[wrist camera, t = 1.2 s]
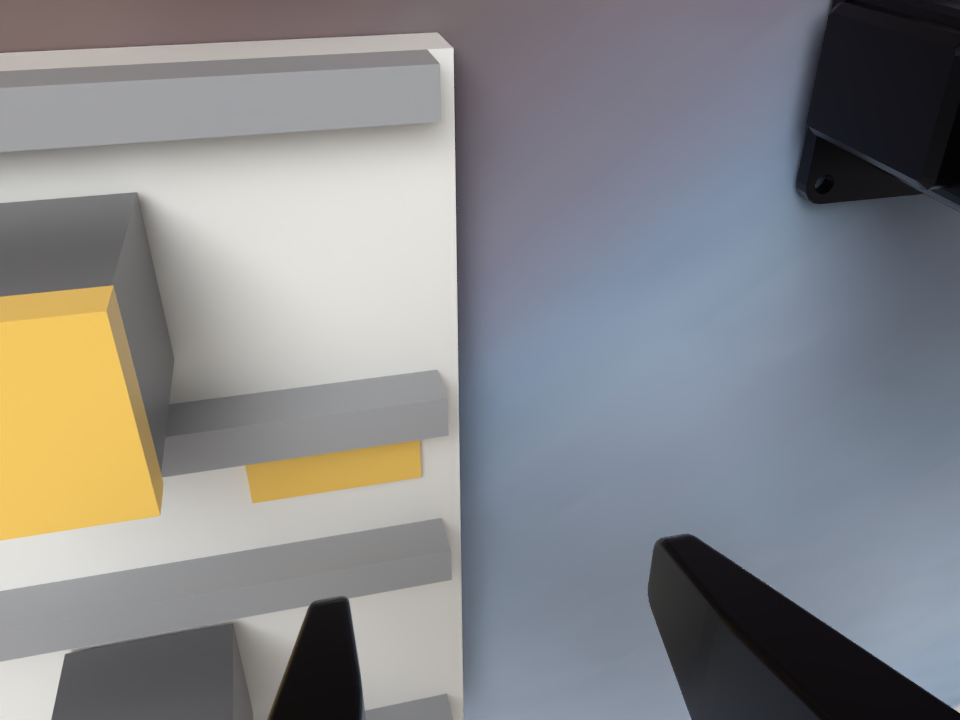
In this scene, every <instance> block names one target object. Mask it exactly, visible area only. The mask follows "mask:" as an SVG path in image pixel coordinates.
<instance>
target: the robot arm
mask: <svg viewBox="0 0 960 720" xmlns="http://www.w3.org/2000/svg"><path fill="white" fill-rule="evenodd" d="M807 124H808V129H807V134H806V139H805V144H804V149H803V153H802V158H801V163H800V168H799V173H798V178H797V189H798V192H799V194H801V195H802V196H803V197H805V198H806V199H808V200H809V201H811V202H813V203H816V204H825V203H835V202H845V201H856V200H866V199H876V198H886V197H896V196H906V195H917V194H926V195H928V196H930V197H932V198H934V199H936V200H938V201H940V202H942V203H943V204H945V205H947V206H949V207H951V208H953V209H955V210H957V211H959V212H960V0H834V3H833V8H832V11H831V13H830V14H829V17H828V22H827V27H826V32H825V37H824V42H823V46H822V51H821V56H820V61H819V66H818V71H817V76H816V81H815V85H814V90H813V95H812V100H811V105H810V110H809V115H808V120H807ZM822 175H825V178H824V181H823V183H822V184H821V185H820V186H819V187H817V188H815V184H816V182H817V180H818V179H819V178H820V177H821V176H822ZM648 598H649V603H650V607H651V610H652V613H653V615H654V618H655V621H656V624H657V626H658V629H659V632H660V635H661V637H662V640H663V643H664V646H665V648H666V651H667V654H668V657H669V659H670V662H671V665H672V668H673V670H674V673H675V676H676V679H677V681H678V684H679V687H680V690H681V692H682V695H683V698H684V701H685V703H686V706H687V709H688V711H689V714H690V716H691V719H692V720H960V713H959V712H957V711H956V710H954V709H953V708H951V707H950V706H948V705H947V704H945V703H944V702H942V701H941V700H939V699H938V698H936V697H935V696H933V695H932V694H930V693H929V692H927V691H926V690H924V689H923V688H921V687H920V686H918V685H917V684H915V683H914V682H912V681H911V680H909V679H908V678H906V677H905V676H903V675H902V674H900V673H899V672H897V671H896V670H894V669H893V668H891V667H890V666H888V665H887V664H885V663H884V662H882V661H881V660H879V659H878V658H876V657H875V656H873V655H872V654H870V653H869V652H867V651H866V650H864V649H863V648H861V647H860V646H858V645H857V644H855V643H854V642H852V641H851V640H849V639H848V638H846V637H845V636H843V635H842V634H840V633H839V632H837V631H836V630H834V629H833V628H831V627H830V626H829V625H827V624H826V623H824V622H823V621H821V620H820V619H818V618H817V617H815V616H814V615H812V614H811V613H809V612H808V611H806V610H805V609H803V608H802V607H800V606H799V605H797V604H796V603H794V602H793V601H791V600H790V599H788V598H787V597H785V596H784V595H782V594H781V593H779V592H778V591H776V590H775V589H773V588H772V587H770V586H769V585H767V584H766V583H764V582H763V581H761V580H760V579H758V578H757V577H755V576H754V575H752V574H751V573H749V572H748V571H746V570H745V569H743V568H742V567H740V566H739V565H737V564H736V563H734V562H733V561H731V560H730V559H728V558H727V557H725V556H724V555H722V554H721V553H719V552H718V551H716V550H715V549H713V548H712V547H710V546H709V545H707V544H706V543H704V542H703V541H701V540H700V539H698V538H697V537H695V536H693V535H690V534H681V535H675V536H670V537H664V538H660V539H658V540H657V541H656V543H655V545H654V549H653V555H652V562H651V569H650V576H649V582H648ZM267 720H366V716H365V708H364V699H363V690H362V681H361V673H360V666H359V660H358V654H357V647H356V641H355V634H354V628H353V621H352V615H351V608H350V602H349V599H348V598H347V597H345V596H337V597H332V598H326V599H321V600H316V601H313V602H312V603H311V604H310V606H309V607H308V609H307V612H306V615H305V617H304V620H303V623H302V625H301V628H300V631H299V634H298V636H297V639H296V642H295V645H294V647H293V650H292V653H291V655H290V658H289V661H288V664H287V666H286V669H285V672H284V675H283V677H282V680H281V683H280V685H279V688H278V691H277V694H276V696H275V699H274V702H273V705H272V707H271V710H270V713H269V715H268V718H267Z"/></svg>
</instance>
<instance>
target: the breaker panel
mask: <svg viewBox="0 0 960 720" xmlns="http://www.w3.org/2000/svg"><path fill="white" fill-rule="evenodd" d="M133 192H137V193H138V198H139V202H140V207H141V211H142V216H143V220H144V225H145V229H146V234H147V238H148V243H149V247H150V252H151V256H152V261H153V265H154V270H155V274H156V279H157V283H158V288H159V292H160V297H161V301H162V306H163V310H164V315H165V319H166V324H167V328H168V333H169V337H170V342H171V346H172V351H173V355H174V368H173V376H172V385H171V393H170V402H169V410H168V419H167V428H166V436H165V445H164V453H163V462H162V470H161V475H162V479H163V483H164V487H163V496H162V505H161V514H160V516H157V517H150V518H144V519H137V520H131V521H124V522H118V523H112V524H105V525H99V526H92V527H86V528H79V529H73V530H66V531H60V532H53V533H47V534H40V535H34V536H27V537H21V538H15V539H8V540H2V541H0V720H51V719H52V714H53V709H54V704H55V699H56V695H57V690H58V685H59V680H60V675H61V671H62V666H63V661H64V656H65V654H67V653H73V652H78V651H84V650H89V649H95V648H100V647H105V646H111V645H116V644H122V643H127V642H133V641H138V640H144V639H149V638H155V637H160V636H166V635H171V634H177V633H182V632H188V631H193V630H199V629H204V628H210V627H215V626H221V625H226V624H232V623H233V625H234V629H235V634H236V638H237V643H238V647H239V652H240V656H241V661H242V665H243V670H244V674H245V679H246V683H247V687H248V692H249V696H250V701H251V705H252V710H253V720H267V718H268V715H269V713H270V710H271V707H272V705H273V702H274V699H275V696H276V694H277V691H278V688H279V685H280V683H281V680H282V677H283V675H284V672H285V669H286V666H287V664H288V661H289V658H290V655H291V653H292V650H293V647H294V645H295V642H296V639H297V636H298V634H299V631H300V628H301V625H302V623H303V620H304V617H305V615H306V612H307V609H308V607H309V606H310V604H311V603H312V602H313V601H316V600H321V599H326V598H332V597H337V596H345V597H347V598H348V599H349V602H350V608H351V615H352V621H353V628H354V634H355V641H356V647H357V654H358V660H359V666H360V673H361V681H362V690H363V699H364V708H365V716H366V720H463V652H462V585H461V518H460V451H459V384H458V317H457V250H456V183H455V116H454V49H453V47H452V46H451V45H450V44H449V43H448V42H447V41H446V40H445V39H444V38H443V37H442V36H441V35H440V34H439V33H417V34H396V35H375V36H353V37H332V38H311V39H290V40H268V41H247V42H226V43H205V44H183V45H162V46H141V47H119V48H98V49H77V50H56V51H34V52H13V53H0V203H9V202H21V201H34V200H46V199H58V198H71V197H83V196H96V195H108V194H121V193H133Z"/></svg>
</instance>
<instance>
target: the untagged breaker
mask: <svg viewBox="0 0 960 720" xmlns="http://www.w3.org/2000/svg"><path fill="white" fill-rule="evenodd" d="M51 720H253V710H252V705H251V701H250V696H249V692H248V687H247V683H246V679H245V674H244V670H243V665H242V661H241V656H240V652H239V647H238V643H237V638H236V634H235V629H234V625H233V623H232V624H226V625H221V626H215V627H210V628H204V629H199V630H193V631H188V632H182V633H177V634H171V635H166V636H160V637H155V638H149V639H144V640H138V641H133V642H127V643H122V644H116V645H111V646H105V647H100V648H95V649H89V650H84V651H78V652H73V653H67V654H65V656H64V661H63V666H62V671H61V675H60V680H59V685H58V690H57V695H56V699H55V704H54V709H53V714H52V719H51Z"/></svg>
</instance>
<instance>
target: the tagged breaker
mask: <svg viewBox="0 0 960 720" xmlns="http://www.w3.org/2000/svg"><path fill="white" fill-rule="evenodd" d="M173 368H174V355H173V351H172V346H171V342H170V337H169V333H168V328H167V324H166V319H165V315H164V310H163V306H162V301H161V297H160V292H159V288H158V283H157V279H156V274H155V270H154V265H153V261H152V256H151V252H150V247H149V243H148V238H147V234H146V229H145V225H144V220H143V216H142V211H141V207H140V202H139V198H138V193H137V192H133V193H121V194H108V195H96V196H83V197H71V198H58V199H46V200H34V201H21V202H9V203H0V541H2V540H8V539H15V538H21V537H27V536H34V535H40V534H47V533H53V532H60V531H66V530H73V529H79V528H86V527H92V526H99V525H105V524H112V523H118V522H124V521H131V520H137V519H144V518H150V517H157V516H160V514H161V505H162V496H163V487H164V483H163V479H162V475H161V470H162V462H163V453H164V445H165V436H166V428H167V419H168V410H169V402H170V393H171V385H172V376H173Z"/></svg>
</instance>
